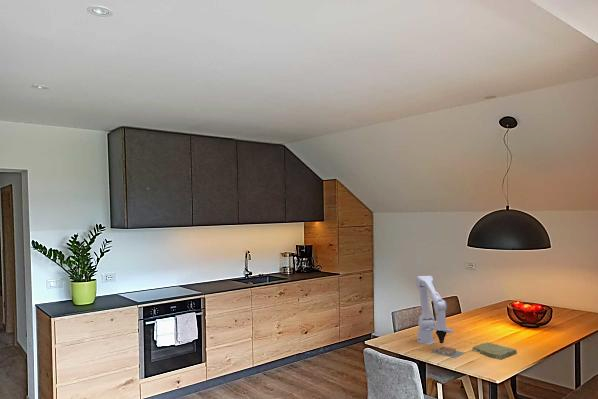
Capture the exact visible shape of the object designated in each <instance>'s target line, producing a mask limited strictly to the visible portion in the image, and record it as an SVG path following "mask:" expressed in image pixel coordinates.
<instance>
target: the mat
mask: <svg viewBox="0 0 598 399" xmlns="http://www.w3.org/2000/svg"><path fill="white" fill-rule="evenodd" d="M441 347H442V346H441ZM441 347H439V348H441ZM439 348H436V349H435V350H433V351H431V352H430V353H432V354H435V355H440V356H445V357H449V358H454V359H456V358H457V357H460V356H462V355H463V354H465V352H463V351H459V350H456V353H455V354H453V355H451V356H449V355H445V354H441V353H438V349H439Z"/></svg>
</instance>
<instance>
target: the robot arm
mask: <svg viewBox="0 0 598 399" xmlns="http://www.w3.org/2000/svg"><path fill="white" fill-rule="evenodd" d="M415 284H416V288H417V289H418V291H419V292H418V293H419V300H420V306H421V315H420V316H419V317H418V322H417V323H418V327H419V328H418V330H417V341H416V342H417V343H420V344H425V345H433V344H434V343H436V340H435V341H434V333H433V332H434V331H435V335H436V336H437V338H438V340H439V344H444V342H445V338H446V335H447V334H448V333H450V334H454V329H451V328H448V327H447V319H446V315H447V314H446V313H447V312H446V311H447V309H448V303H447V301H446V300H444V299H443V298H442V296H441V295H440V293H439V292H437V291H436V289H435V287H434V277H433V276H432V275H417V276H416V278H415ZM428 292H429V293H430V295H429V296H430V299H431V300H432V303H433V309H434V312H435V316H434V315H432V314H431V312H430V307H429V306H430V304H429V296H428Z"/></svg>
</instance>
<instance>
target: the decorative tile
mask: <svg viewBox="0 0 598 399" xmlns="http://www.w3.org/2000/svg"><path fill="white" fill-rule="evenodd" d="M471 352H475V353H479V355H483V356H485V357H489V358H492V359H496V360H500V361H502V360H505V359H507V358H510V357H511V356H515V355H517V353H518V350H517V349H516V348H511V347H507V346H503V345H499V344H495V343H491V342H488V341H487V342H481V343H480V344H476V345H474V346H473V347H472V349H471Z"/></svg>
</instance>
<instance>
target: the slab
mask: <svg viewBox="0 0 598 399" xmlns="http://www.w3.org/2000/svg"><path fill="white" fill-rule="evenodd" d="M437 349H438V348H437ZM456 351H457V349H456V348H453V347H449V346H444V345H443V346H441V348H440V347H439V349H438V353H441V354H445V355H449V356H451V355H453V354H455V353H456Z"/></svg>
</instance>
